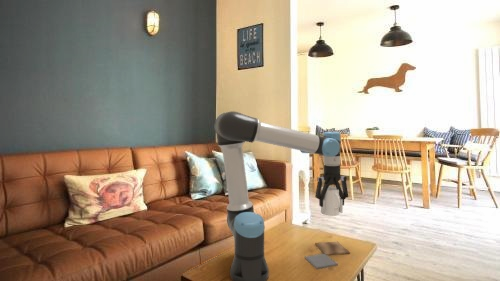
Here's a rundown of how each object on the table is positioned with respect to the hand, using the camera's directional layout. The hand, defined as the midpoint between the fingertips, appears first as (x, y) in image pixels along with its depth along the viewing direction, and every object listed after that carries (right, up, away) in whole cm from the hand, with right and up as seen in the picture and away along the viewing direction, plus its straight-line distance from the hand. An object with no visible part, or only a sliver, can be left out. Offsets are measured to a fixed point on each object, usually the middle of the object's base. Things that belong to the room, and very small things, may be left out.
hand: (331, 212), depth 134 cm
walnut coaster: (0, -18, +1) cm, 18 cm away
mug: (0, -1, 0) cm, 1 cm away
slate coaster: (-8, -18, -11) cm, 23 cm away
